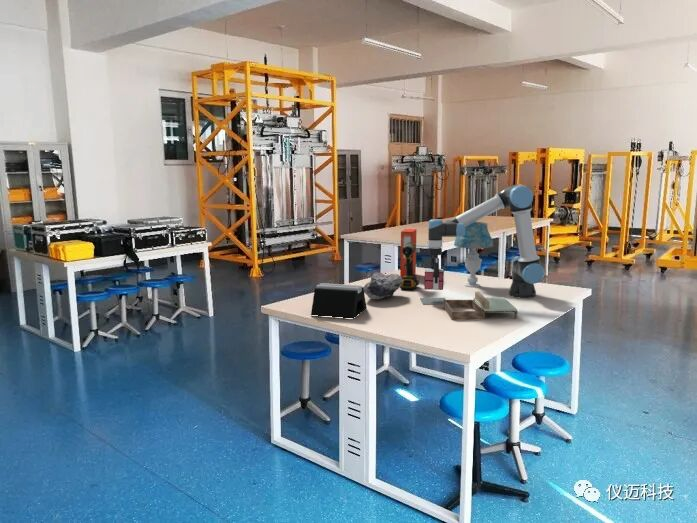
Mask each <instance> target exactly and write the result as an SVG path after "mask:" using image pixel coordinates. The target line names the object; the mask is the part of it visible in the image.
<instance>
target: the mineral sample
mask: <svg viewBox="0 0 697 523" xmlns="http://www.w3.org/2000/svg"><path fill="white" fill-rule="evenodd" d="M401 283H402V277H401V276H400V274H396V273H390V274H389V273H387V274H384V273H382V272H381V273H380V272H373V274H372V275H371V277H370V281H369V282H366V283H365V285H363V286H362V287H363V289H364V295H366V296H367V297H368V298H369V299H372V300H381V299H382V298H388V297H392V296H394V294H395V292H397V290H399V289H400V286H401Z"/></svg>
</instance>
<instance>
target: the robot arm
mask: <svg viewBox="0 0 697 523" xmlns="http://www.w3.org/2000/svg"><path fill="white" fill-rule="evenodd" d="M533 199H534V193H533V192H532V190H531V189H530V188H529V187H528V186H526V185H522V184H512V185H509V186H508V187H505V188H504V189H502V190H501V191H499V192H497V193H495V195H494V196H493V197H491V198H489V199H488V200H485V201H484V202H481V203H480V204H478V205H476V206H474V207H472V208H471V209H468V210H467V211H464V212H462V213H461V214H459V215H457V216H455V217H453V218H451V219H447V220H445V221H444V222H443V220H442V219H440V218H439V219H438V218H437V219H436V218H435V219H434V218H433V219H430V220H429V221H428V232H427V233H428V236H427V237H428V239H427V240H428V241H427V246H428V249H427V255H429V256H430V264H429V265H430V266H429V269H433V270H434V276H433V290H434V289H438V282H439V269H440V259H439V256H441V255H442V254H443V248H442V247H443V238H445V237H446V238H452V237H453V238H456V237H463V236H464V234H465V227H466V226H468V225H470V224H472V223H474V222H479V220H481V219H483V218H486V217H487V216H490V215H492V214H493V213H495V212H497V211H499V210H501V209H502V210H504V209H506V208H509V211H510V213H511V214H513V218H514V219H513V220H514V225H515V233H516V237H517V245H518V251H519V256H518V255H517V256H514V257H513V260H512V280H511V281H512V282H511V284H510V287H509V290H508V296H510V297H512V296H513V297H512V298H518V297H520V298H519V299H531V298H535V297H536V296H537V291H536V288H535V284H537V283H540V282H541V281H542V279H543V278H544V276H545V269H544V267H543V265H542V262H541V258H540V256H539V255H537V249H536V242H535V236H534V229H533V223H532V222H533V221H532V217H531V216H532V215H531V211H532V210H533V204H532V203H533V201H534V200H533Z"/></svg>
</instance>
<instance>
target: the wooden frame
mask: <svg viewBox="0 0 697 523" xmlns="http://www.w3.org/2000/svg"><path fill="white" fill-rule="evenodd" d="M455 308H458V309H459V308H460V309H461V308H462V309H463V308H467V309H468V308H472V309H473V310H456V311H455V310H453V309H455ZM443 309H444V311H445V312H446V314H447V315H448V316H449V318H450V320H451V321H453V320H454V321H455V320H456V321H457V320H458V321H459V320H460V321H461V320H462V321H466V320H485V313H514V316H513V318H514V319H515V320H517V319H518V310H517V311H484V310H483V309H482V308H481V307H480V306H479V304H478V303H477V302H476V301H475V300H474V299H446V300H444V303H443Z"/></svg>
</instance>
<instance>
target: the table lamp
mask: <svg viewBox="0 0 697 523" xmlns="http://www.w3.org/2000/svg"><path fill="white" fill-rule="evenodd" d="M453 245H454V247H456V248H460V249H461V248H463V249H470V252H469V253H467V257H466V258H463V259H464V260H463V261H464V265H465V269H466V270H467V271H468V272H469V273H470V274H469V276H468V277H467V283H465V284H464V287H466V288H479V287H481V284H479V283H478V280H479V278H478V277H477V275H476V273H477V272H478V271H479V270H480V269H481V266H482V261H483V259H482V258H480V257H479V256H480V253H478V252H477V249H489V248H493V247H494V240H493V238H492V236H491V234H490V232H489V228H488V223H487V222H485V221H476V222H474V223H472V224H470V225H468V226H466V227H465V234H464V236H463V237H455V239H454V243H453Z"/></svg>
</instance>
